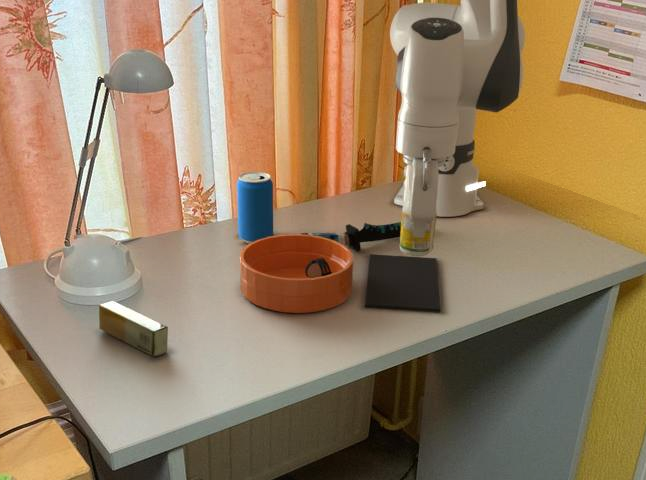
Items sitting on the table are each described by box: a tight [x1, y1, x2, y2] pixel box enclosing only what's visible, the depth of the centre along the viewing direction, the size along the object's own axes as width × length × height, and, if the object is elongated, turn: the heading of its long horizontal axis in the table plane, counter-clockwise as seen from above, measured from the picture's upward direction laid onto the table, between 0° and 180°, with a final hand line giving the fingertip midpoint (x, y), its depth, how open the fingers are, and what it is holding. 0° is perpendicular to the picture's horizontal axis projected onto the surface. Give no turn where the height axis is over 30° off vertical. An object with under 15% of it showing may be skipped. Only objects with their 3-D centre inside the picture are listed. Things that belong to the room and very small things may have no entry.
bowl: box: [239, 233, 355, 314], centre depth 129 cm, size 18×18×6 cm
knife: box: [300, 221, 401, 253], centre depth 147 cm, size 31×3×4 cm, turn 124°
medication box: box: [98, 300, 169, 358], centre depth 113 cm, size 12×3×4 cm, turn 54°
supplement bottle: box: [399, 189, 437, 257], centre depth 124 cm, size 5×5×10 cm
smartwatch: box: [305, 258, 332, 278], centre depth 129 cm, size 4×5×5 cm
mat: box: [364, 253, 442, 313], centre depth 135 cm, size 20×12×1 cm, turn 176°
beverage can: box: [236, 171, 274, 244], centre depth 145 cm, size 6×6×12 cm
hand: (418, 227), depth 124 cm, fingers closed on supplement bottle, 5 cm apart
